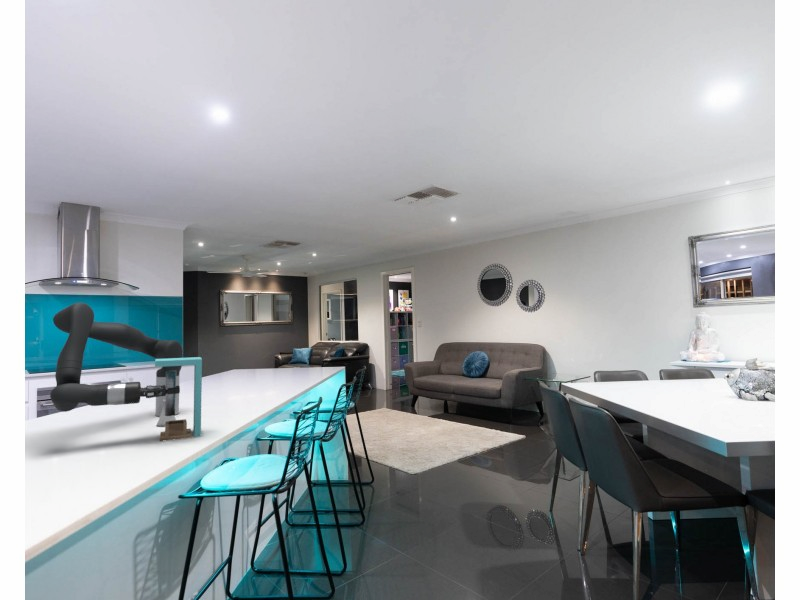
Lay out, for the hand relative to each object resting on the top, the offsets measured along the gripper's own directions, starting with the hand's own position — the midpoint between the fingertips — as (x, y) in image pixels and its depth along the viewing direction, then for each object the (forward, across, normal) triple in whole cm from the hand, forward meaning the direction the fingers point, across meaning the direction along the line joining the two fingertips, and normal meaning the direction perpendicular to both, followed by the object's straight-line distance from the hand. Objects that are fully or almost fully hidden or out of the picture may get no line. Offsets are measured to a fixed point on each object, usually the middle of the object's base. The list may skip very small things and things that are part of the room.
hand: (179, 389), depth 157 cm
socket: (-1, 0, +17) cm, 17 cm away
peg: (-3, 0, +9) cm, 9 cm away
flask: (-4, +21, +17) cm, 27 cm away
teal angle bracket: (-1, 0, +17) cm, 17 cm away
